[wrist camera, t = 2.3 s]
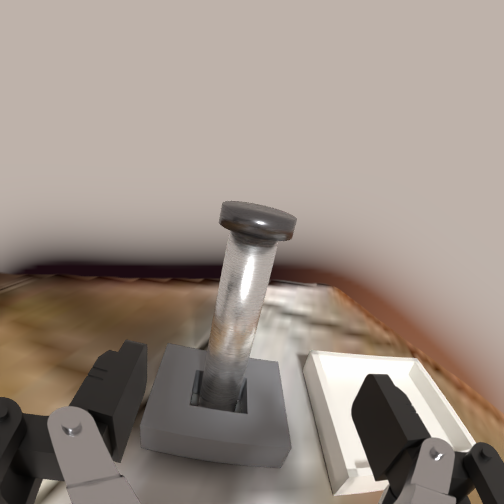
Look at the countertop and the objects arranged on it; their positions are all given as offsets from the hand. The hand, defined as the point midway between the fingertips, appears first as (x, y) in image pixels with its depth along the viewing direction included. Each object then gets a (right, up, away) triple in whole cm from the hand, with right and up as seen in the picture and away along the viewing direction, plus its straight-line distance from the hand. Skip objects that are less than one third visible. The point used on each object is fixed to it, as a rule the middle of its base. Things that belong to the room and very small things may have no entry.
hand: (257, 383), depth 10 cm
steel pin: (-3, -10, +15) cm, 18 cm away
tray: (+13, -13, +16) cm, 25 cm away
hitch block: (-3, -10, +15) cm, 18 cm away
